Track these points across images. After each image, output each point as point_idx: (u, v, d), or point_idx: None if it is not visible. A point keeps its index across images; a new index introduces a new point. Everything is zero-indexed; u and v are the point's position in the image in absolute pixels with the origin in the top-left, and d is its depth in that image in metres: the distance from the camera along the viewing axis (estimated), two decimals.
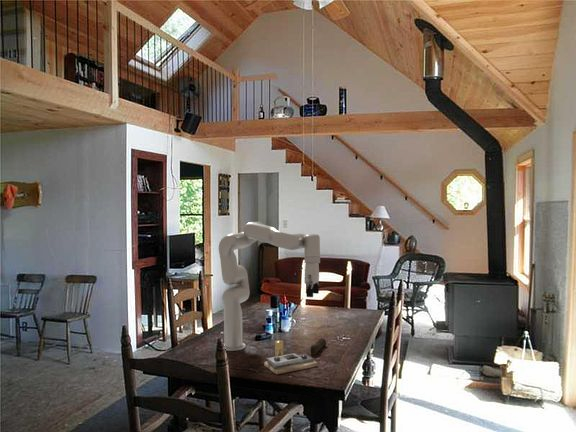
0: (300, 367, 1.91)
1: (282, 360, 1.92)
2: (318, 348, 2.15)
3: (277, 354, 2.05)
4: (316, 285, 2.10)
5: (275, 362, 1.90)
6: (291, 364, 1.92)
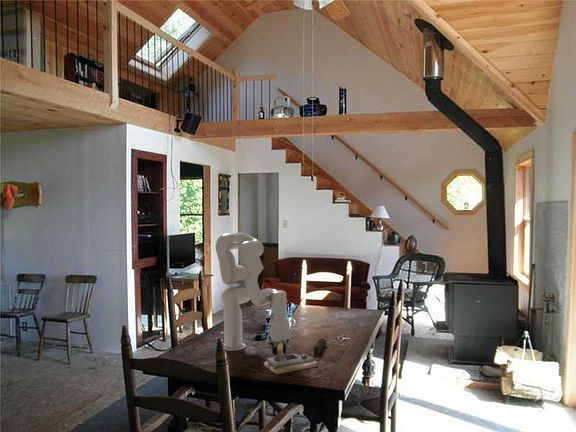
0: (300, 367, 1.91)
1: (282, 360, 1.92)
2: (320, 348, 2.15)
3: (277, 354, 2.05)
4: None
5: (275, 362, 1.90)
6: (291, 364, 1.92)
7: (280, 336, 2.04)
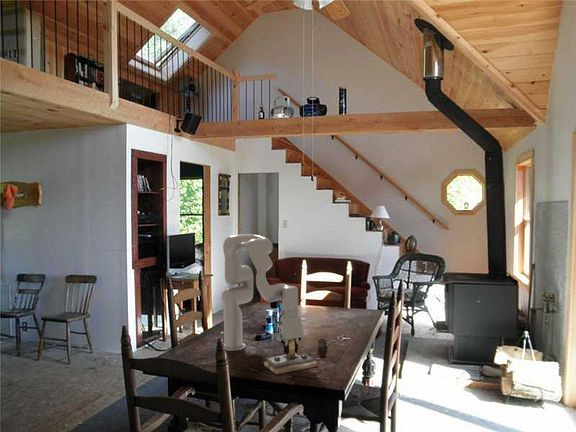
0: (300, 367, 1.91)
1: (282, 360, 1.92)
2: (323, 348, 2.15)
3: (289, 353, 1.95)
4: None
5: (275, 362, 1.90)
6: (291, 364, 1.92)
7: (292, 334, 1.94)
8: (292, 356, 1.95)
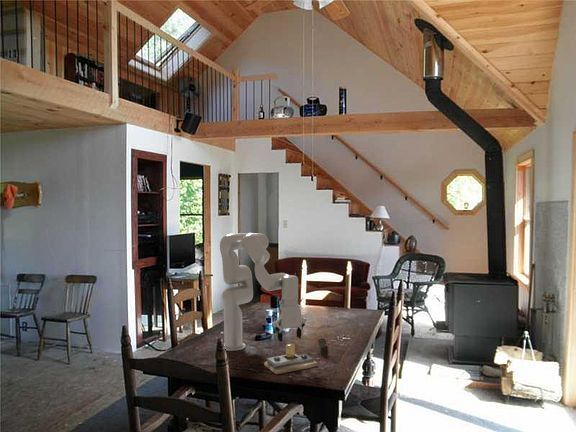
0: (300, 367, 1.91)
1: (282, 360, 1.92)
2: None
3: (288, 358, 1.95)
4: None
5: (275, 362, 1.90)
6: (291, 364, 1.92)
7: (291, 323, 1.94)
8: None
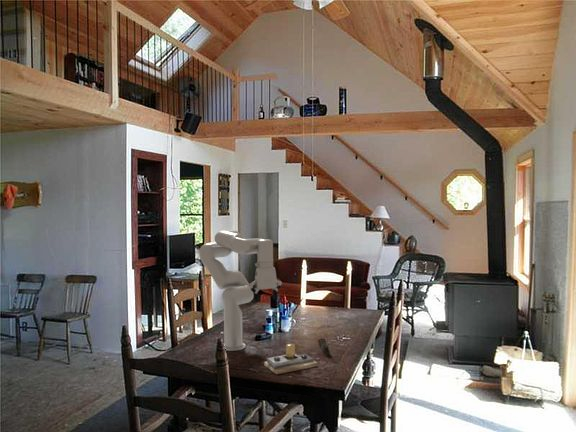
0: (300, 367, 1.91)
1: (282, 360, 1.92)
2: None
3: (288, 358, 1.95)
4: None
5: (275, 362, 1.90)
6: (291, 364, 1.92)
7: (266, 284, 2.03)
8: None
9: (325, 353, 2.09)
